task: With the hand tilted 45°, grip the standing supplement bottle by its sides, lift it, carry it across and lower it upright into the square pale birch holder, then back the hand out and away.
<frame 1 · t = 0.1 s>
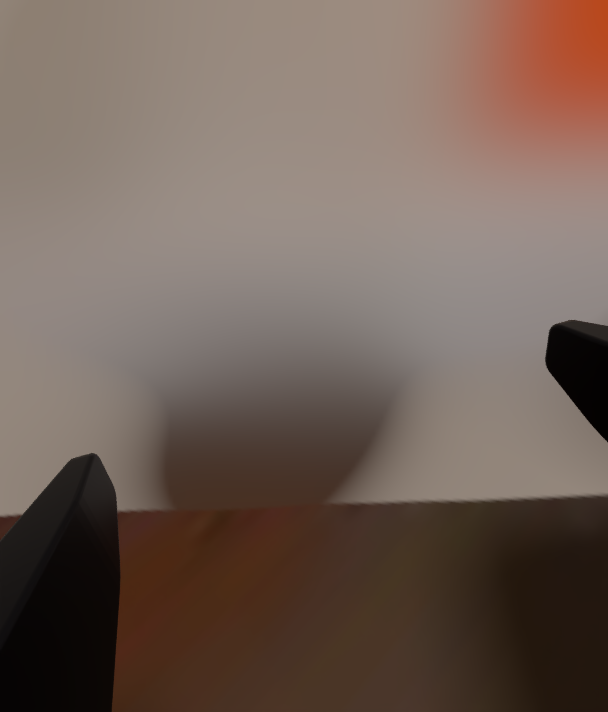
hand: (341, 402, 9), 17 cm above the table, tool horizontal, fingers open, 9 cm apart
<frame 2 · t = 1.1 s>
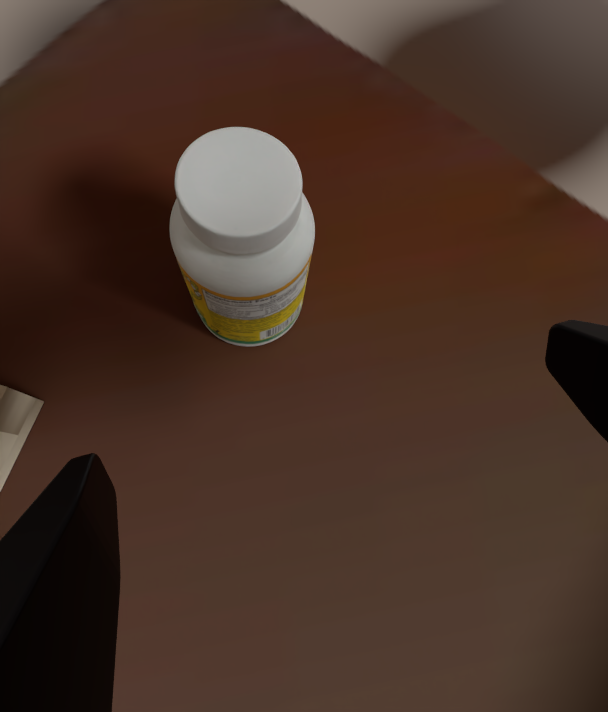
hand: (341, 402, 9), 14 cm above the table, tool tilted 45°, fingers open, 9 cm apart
supplement bottle: (249, 298, 24), on the table
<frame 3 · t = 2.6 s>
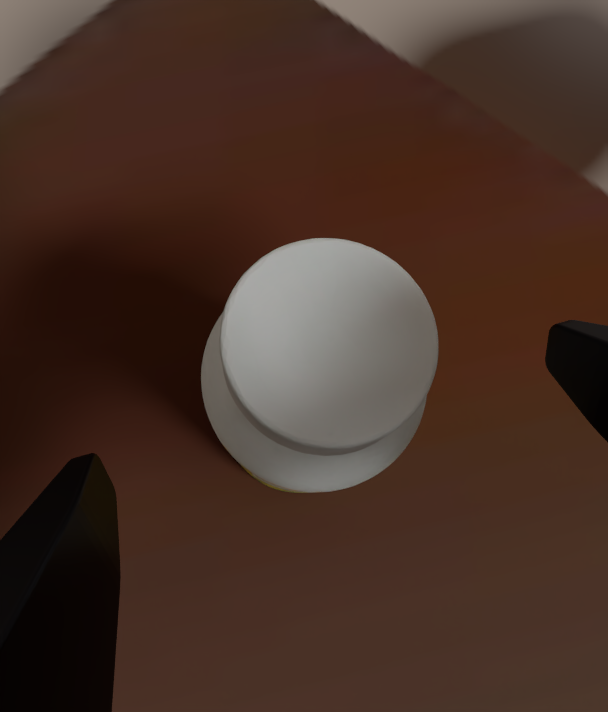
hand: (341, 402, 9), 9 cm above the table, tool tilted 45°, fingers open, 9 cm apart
supplement bottle: (297, 416, 18), on the table
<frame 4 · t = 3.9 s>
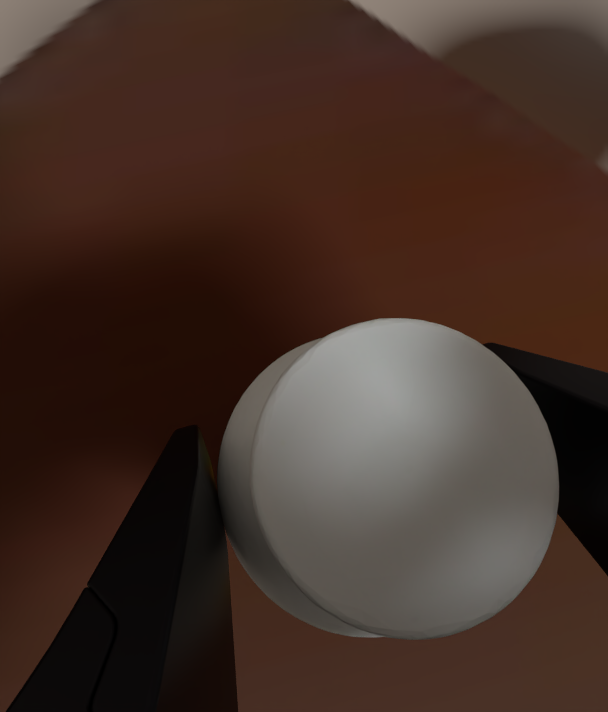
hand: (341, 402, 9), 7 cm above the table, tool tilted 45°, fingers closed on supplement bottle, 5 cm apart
supplement bottle: (321, 478, 15), on the table, touching gripper
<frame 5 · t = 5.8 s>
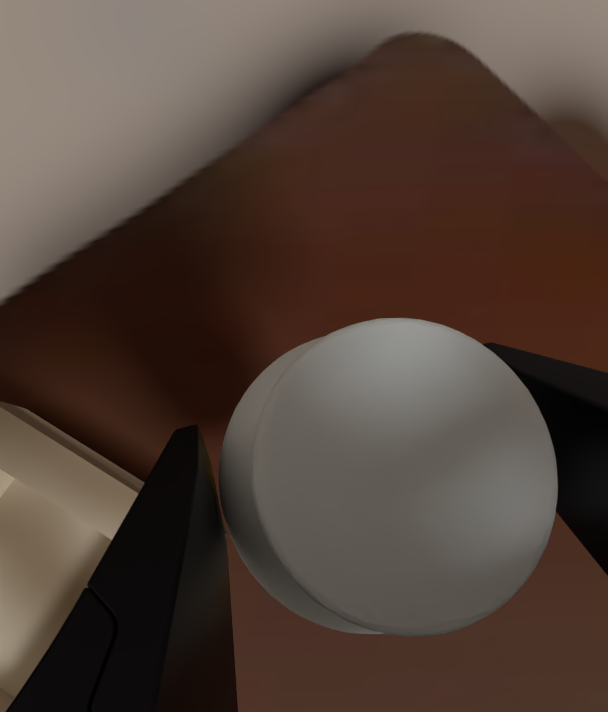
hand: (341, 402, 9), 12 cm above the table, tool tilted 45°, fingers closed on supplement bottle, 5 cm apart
holder: (49, 583, 19), on the table
supplement bottle: (323, 476, 16), point 5 cm above the table, touching gripper
when the fingers open (9 cm above the table, at t = 7.8 s): supplement bottle drops 1 cm, resting on holder.
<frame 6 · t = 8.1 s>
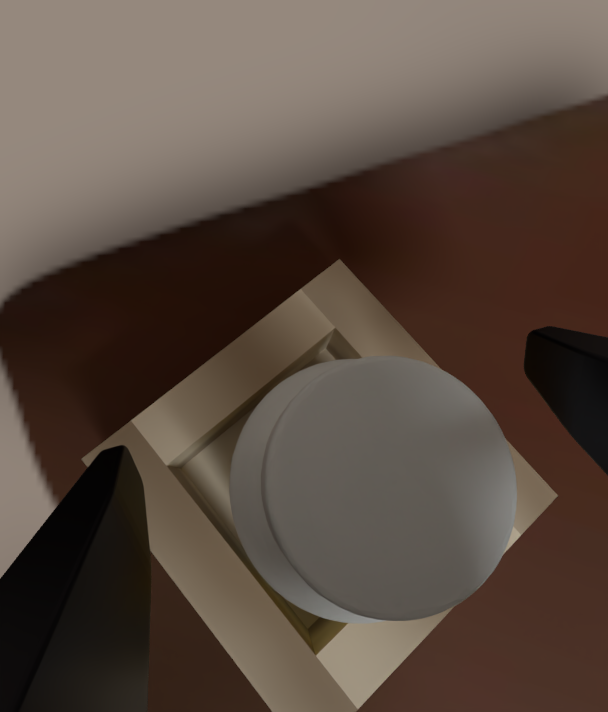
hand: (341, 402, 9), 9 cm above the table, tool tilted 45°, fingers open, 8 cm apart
holder: (315, 478, 17), on the table
supplement bottle: (317, 483, 17), point 1 cm above the table, touching holder
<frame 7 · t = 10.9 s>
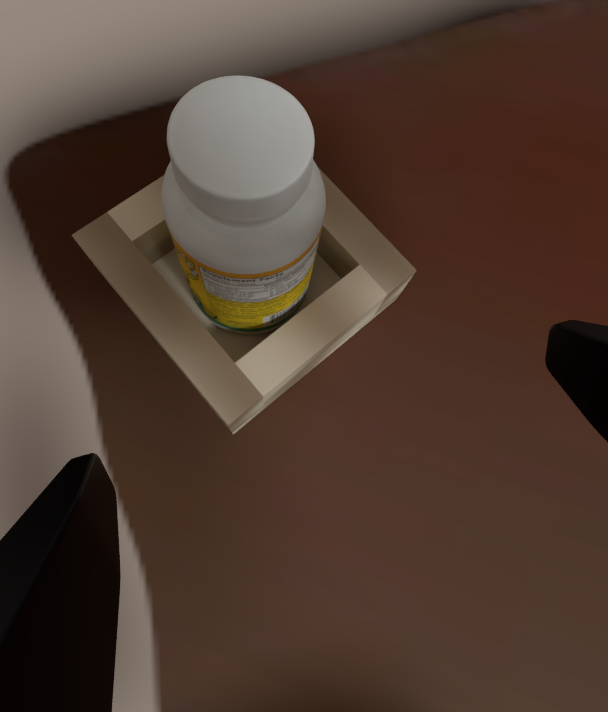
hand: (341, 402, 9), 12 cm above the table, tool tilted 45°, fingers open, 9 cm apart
holder: (249, 285, 23), on the table
supplement bottle: (249, 283, 22), point 1 cm above the table, touching holder
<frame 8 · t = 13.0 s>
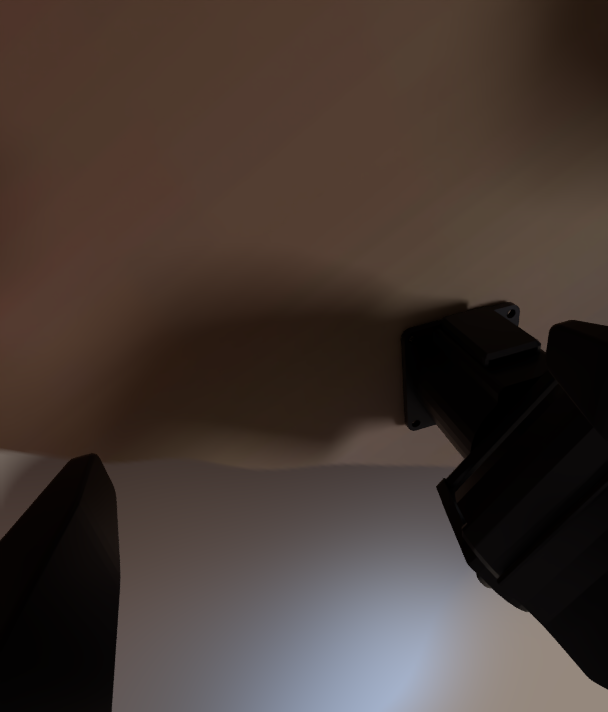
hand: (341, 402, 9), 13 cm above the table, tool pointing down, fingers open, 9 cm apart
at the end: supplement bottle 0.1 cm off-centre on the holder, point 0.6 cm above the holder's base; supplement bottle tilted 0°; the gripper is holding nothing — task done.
